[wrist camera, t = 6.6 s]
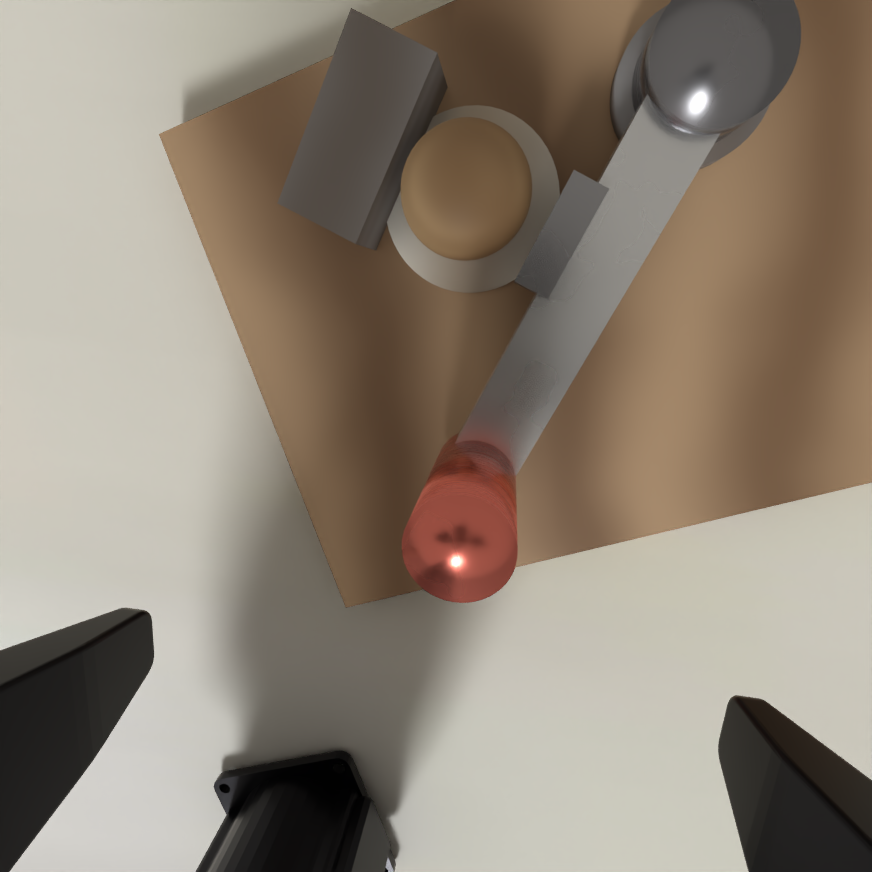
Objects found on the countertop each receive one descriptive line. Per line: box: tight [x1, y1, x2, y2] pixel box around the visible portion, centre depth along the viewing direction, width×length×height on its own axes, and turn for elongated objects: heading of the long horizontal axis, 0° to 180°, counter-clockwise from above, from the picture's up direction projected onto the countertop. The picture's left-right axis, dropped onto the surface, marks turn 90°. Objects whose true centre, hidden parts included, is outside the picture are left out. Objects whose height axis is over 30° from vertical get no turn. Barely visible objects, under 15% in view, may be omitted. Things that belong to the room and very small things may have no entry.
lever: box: [402, 0, 801, 603], centre depth 13 cm, size 15×3×6 cm, turn 153°
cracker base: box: [159, 0, 872, 608], centre depth 17 cm, size 20×17×4 cm
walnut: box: [401, 117, 532, 261], centre depth 15 cm, size 4×4×4 cm
